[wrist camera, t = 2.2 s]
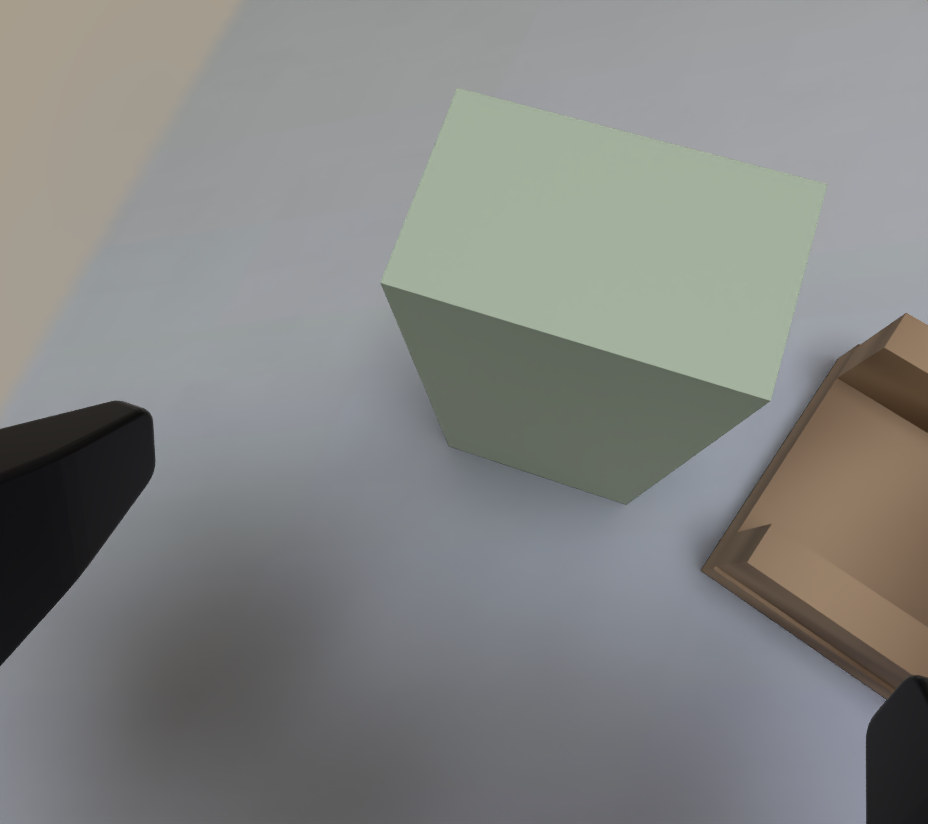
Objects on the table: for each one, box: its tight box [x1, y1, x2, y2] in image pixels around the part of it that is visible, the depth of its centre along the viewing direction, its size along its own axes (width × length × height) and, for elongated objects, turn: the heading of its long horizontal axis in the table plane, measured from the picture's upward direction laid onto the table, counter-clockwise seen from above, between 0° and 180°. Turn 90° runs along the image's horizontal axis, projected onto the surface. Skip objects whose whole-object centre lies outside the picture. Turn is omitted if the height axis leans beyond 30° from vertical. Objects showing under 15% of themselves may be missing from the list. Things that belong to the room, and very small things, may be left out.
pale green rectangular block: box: [381, 88, 827, 505], centre depth 15 cm, size 3×5×11 cm, turn 71°
